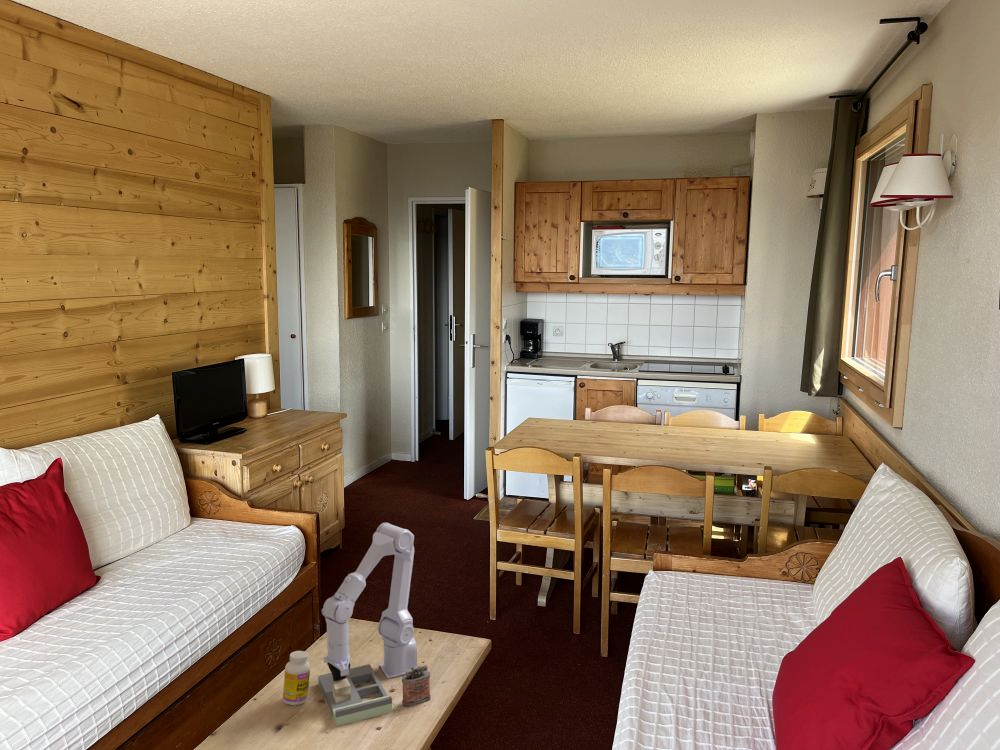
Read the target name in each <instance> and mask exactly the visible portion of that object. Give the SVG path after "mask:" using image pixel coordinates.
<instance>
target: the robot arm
mask: <svg viewBox="0 0 1000 750" xmlns="http://www.w3.org/2000/svg"><path fill="white" fill-rule="evenodd" d="M414 542H415V535H414V534H413V532H411V531H410V530H409V529H406V528H402V527H399V526H397V525H393V524H391V523H389V522H382V523H381V524H380V525H379V526H378V527H377V528H376V531H374V533H373V535H372V542H371V545H370V547H369V548H368V550H367V552H366V554H364V557H362V560H361V562H360V563H359V565H358V567H357V568H356V570H355V571H354V572H351V573H348V574H347V576H345V578H344V579H343V582H342V583H341V585H340V586H339V588H338V589H337V591H336V592H335V593H334V594H333V595H332V596H331V597H329V598H327V599H326V600H325V602H324V604H323V606H322V607H323V608H322V609H321V614H322V616H323V617H324V619H325V623H326V638H327V639H326V640H327V641H326V642H327V656H325V657H323V663H325V664H327V666H328V668H329V671H330V673H332V676H333V681H337V680H342V679H346V675H349V669H350V668H351V664H350V660H351V659H350V658H351V655H350V643H349V642H350V641H349V640H350V637H349V636H350V635H349V633H350V632H349V619H350V618H351V617H352V615H353V611H354V607H355V604H356V601H357V600H358V598H359V596H360V595H361V594H362V592H363V591H364V589H365V588H366V586H367V582H366V579H367V578H368V576H369V575H370V574H371V573H372V571H373V570H374V568H375V567H376V566H377V565H378V564H379V562H380V561H381V559H383V558H384V557H386V556H391V555H393V556H394V560H393V568H392V576H391V584H390V594H389V598H388V599H389V600H388V607H387V608H386V609H385V610H383V611H382V612H381V617H380V620H379V622H378V625H377V632H378V634H379V635H380V636H381V639H382V642H383V663H380V664H379V667H380V668H381V670H382V672H383V674H384V675H385V677H386V678H387V679H391V678H392V679H393V678H394V677H400V676H405V675H406V670H408V669H411V668H412V667H413V666H415V667H418V646H417V642H416V640H415V637H413V636H414V634H415V633H414V632H415V630H414V625H413V623H414V622H413V620H414V619H413V617H412V615H411V613H410V612H409V610H408V604H409V599H410V598H409V597H410V590H411V579H412V575H413V574H412V573H413V565H414V555H415V546H414Z"/></svg>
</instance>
